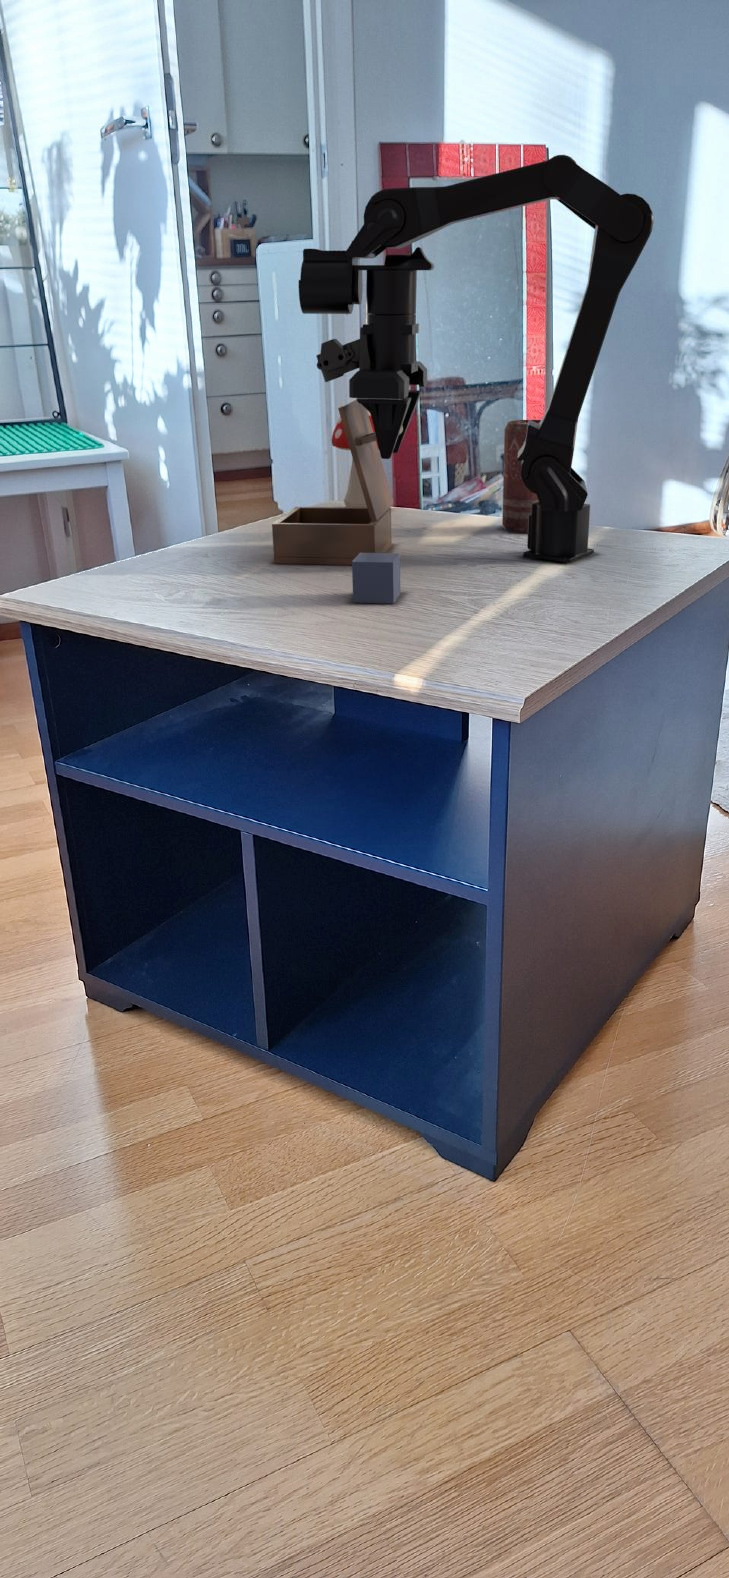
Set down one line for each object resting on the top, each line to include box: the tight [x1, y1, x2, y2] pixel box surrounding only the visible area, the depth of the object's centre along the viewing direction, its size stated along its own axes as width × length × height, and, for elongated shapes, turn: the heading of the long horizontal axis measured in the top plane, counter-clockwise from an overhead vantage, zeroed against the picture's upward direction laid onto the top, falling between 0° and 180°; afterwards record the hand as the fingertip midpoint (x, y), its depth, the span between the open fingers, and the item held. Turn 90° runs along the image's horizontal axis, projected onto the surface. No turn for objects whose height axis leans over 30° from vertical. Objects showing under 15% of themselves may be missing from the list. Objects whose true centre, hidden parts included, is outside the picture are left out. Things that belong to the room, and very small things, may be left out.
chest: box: [271, 506, 393, 566], centre depth 139 cm, size 13×12×5 cm
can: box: [501, 419, 541, 534], centre depth 148 cm, size 6×6×14 cm
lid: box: [337, 399, 403, 522], centre depth 134 cm, size 13×12×5 cm
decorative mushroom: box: [331, 410, 379, 507], centre depth 164 cm, size 10×9×15 cm
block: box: [351, 552, 402, 605], centre depth 119 cm, size 4×4×4 cm
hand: (389, 455), depth 134 cm, fingers closed on lid, 5 cm apart
